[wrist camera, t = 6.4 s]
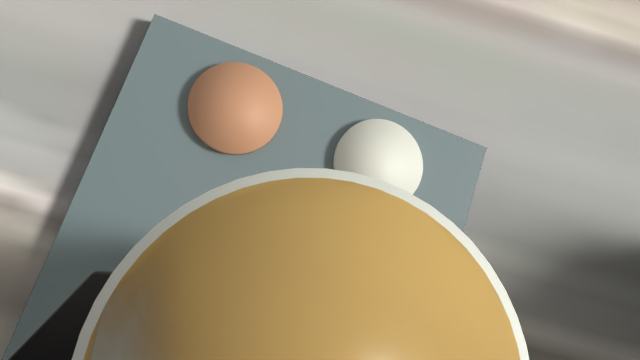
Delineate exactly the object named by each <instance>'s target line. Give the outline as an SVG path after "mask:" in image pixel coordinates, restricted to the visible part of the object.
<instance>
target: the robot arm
mask: <svg viewBox="0 0 640 360" xmlns="http://www.w3.org/2000/svg"><path fill="white" fill-rule="evenodd" d="M112 272H113V271H102V270H97V271H94V272H92V273H91V274H90V275H89V276H88V277H87V278H86V279H85V280H84V281H83V282H82V283H81V284H80V285H79V286H78V287H77V288H76V289H75V290H74V291H73V293H72V294H71V295H70V296H69V297H68V298H67V299H66V300H65V301H64V302H63V303H62V304H61V305H60V306H59V307H58V308H57V309H56V310H55V311H54V312H53V313H52V314H51V315H50V316H49V317H48V318H47V319H46V320H45V321H44V323H43V324H42V325H41V326H40V327H39V328H38V329H37V330H36V331H35V332H34V333H33V334H32V335H31V336H30V337H29V338H28V339H27V340H26V341H25V342H24V343H23V344H22V345H21V346H20V347H19V348H18V349H17V350H16V351H15V353H14V354H13V355H12V356H11V357H10V358H9V359H8V360H72V357H73V354H74V350H75V347H76V344H77V341H78V338H79V335H80V332H81V329H82V327H83V325H84V323H85V321H86V319H87V316H88V314H89V312H90V310H91V308H92V306H93V303H94V301H95V300H96V298H97V296H98V295H99V293H100V292H101V290H102V288H103V287H104V285H105V284H106V282H107V280H108V279H109V277H110V276H111V274H112ZM529 360H530V359H529Z"/></svg>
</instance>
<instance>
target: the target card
mask: <svg viewBox="0 0 640 360" xmlns="http://www.w3.org/2000/svg"><path fill="white" fill-rule="evenodd" d="M486 149H487V148H486V147H483V146H481V145H478V144H476V143H473V142H471V141H468V140H466V139H463V138H461V137H458V136H456V135H453V134H451V133H448V132H446V131H444V130H441V129H439V128H436V127H434V126H431V125H429V124H426V123H424V122H421V121H419V120H416V119H414V118H411V117H409V116H406V115H404V114H401V113H399V112H396V111H394V110H391V109H389V108H386V107H384V106H381V105H379V104H377V103H374V102H372V101H369V100H367V99H364V98H362V97H359V96H357V95H354V94H352V93H349V92H347V91H344V90H342V89H339V88H337V87H334V86H332V85H329V84H327V83H324V82H322V81H319V80H317V79H314V78H312V77H310V76H307V75H305V74H302V73H300V72H297V71H295V70H292V69H290V68H287V67H285V66H282V65H280V64H277V63H275V62H272V61H270V60H267V59H265V58H262V57H260V56H257V55H255V54H252V53H250V52H247V51H245V50H242V49H240V48H238V47H235V46H233V45H230V44H228V43H225V42H223V41H220V40H218V39H215V38H213V37H210V36H208V35H205V34H203V33H200V32H198V31H195V30H193V29H190V28H188V27H185V26H183V25H180V24H178V23H175V22H173V21H171V20H168V19H166V18H163V17H161V16H158V15H156V14H155V15H154V17H153V19H152V21H151V24H150V26H149V28H148V30H147V33H146V35H145V37H144V39H143V42H142V44H141V46H140V48H139V51H138V53H137V55H136V58H135V60H134V62H133V64H132V67H131V69H130V71H129V73H128V76H127V78H126V80H125V82H124V85H123V87H122V89H121V91H120V94H119V96H118V98H117V101H116V103H115V105H114V107H113V110H112V112H111V114H110V116H109V119H108V121H107V123H106V125H105V128H104V130H103V132H102V134H101V137H100V139H99V141H98V144H97V146H96V148H95V150H94V153H93V155H92V157H91V159H90V162H89V164H88V166H87V168H86V171H85V173H84V175H83V178H82V180H81V182H80V184H79V187H78V189H77V191H76V193H75V196H74V198H73V200H72V202H71V205H70V207H69V209H68V211H67V214H66V216H65V218H64V221H63V223H62V225H61V227H60V230H59V232H58V234H57V236H56V239H55V241H54V243H53V245H52V248H51V250H50V252H49V254H48V257H47V259H46V261H45V264H44V266H43V268H42V270H41V273H40V275H39V277H38V279H37V282H36V284H35V286H34V288H33V291H32V293H31V295H30V297H29V300H28V302H27V304H26V307H25V309H24V311H23V313H22V316H21V318H20V320H19V322H18V325H17V327H16V329H15V331H14V334H13V336H12V338H11V340H10V343H9V345H8V347H7V350H6V352H5V354H4V356H3V359H2V360H8V359H9V358H10V357H11V356H12V355H13V354H14V353H15V351H16V350H17V349H18V348H19V347H20V346H21V345H22V344H23V343H24V342H25V341H26V340H27V339H28V338H29V337H30V336H31V335H32V334H33V333H34V332H35V331H36V330H37V329H38V328H39V327H40V326H41V325H42V324H43V323H44V321H45V320H46V319H47V318H48V317H49V316H50V315H51V314H52V313H53V312H54V311H55V310H56V309H57V308H58V307H59V306H60V305H61V304H62V303H63V302H64V301H65V300H66V299H67V298H68V297H69V296H70V295H71V294H72V293H73V291H74V290H75V289H76V288H77V287H78V286H79V285H80V284H81V283H82V282H83V281H84V280H85V279H86V278H87V277H88V276H89V275H90V274H91V273H92V272H94V271H97V270H102V271H114V270H115V269H116V267H117V266H118V265H119V264H120V262H121V261H122V260H123V259H124V258H125V256H126V255H127V254H128V253H129V251H130V250H131V249H132V248H133V247H134V246H135V245H136V244H137V243H138V242H139V241H140V240H141V239H142V238H143V237H144V236H145V235H146V234H147V233H148V232H149V231H150V230H151V229H152V228H154V227H155V226H156V225H157V224H158V223H159V222H161V221H162V220H163V219H165V218H166V217H167V216H169V215H170V214H171V213H173V212H174V211H176V210H177V209H178V208H180V207H181V206H182V205H184V204H186V203H188V202H189V201H191V200H193V199H195V198H197V197H198V196H200V195H202V194H204V193H206V192H207V191H209V190H211V189H214V188H216V187H219V186H222V185H224V184H227V183H229V182H232V181H234V180H237V179H240V178H244V177H247V176H251V175H255V174H259V173H263V172H267V171H275V170H284V169H292V168H326V169H333V170H340V171H347V172H354V173H357V174H361V175H364V176H368V177H372V178H375V179H379V180H382V181H384V182H386V183H389V184H391V185H393V186H396V187H398V188H400V189H403V190H405V191H407V192H409V193H411V194H412V195H414V196H416V197H417V198H419V199H421V200H423V201H424V202H426V203H428V204H429V205H431V206H432V207H434V208H435V209H436V210H437V211H439V212H440V213H441V214H443V215H444V216H445V217H446V218H448V219H449V220H450V221H452V222H453V223H454V224H455V225H456V226H457V227H458V228H459V229H460V230H461V231H462V232H463V228H464V225H465V221H466V218H467V214H468V211H469V207H470V204H471V201H472V197H473V194H474V190H475V187H476V183H477V180H478V176H479V173H480V169H481V166H482V162H483V159H484V155H485V152H486Z"/></svg>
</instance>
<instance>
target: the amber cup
mask: <svg viewBox="0 0 640 360" xmlns="http://www.w3.org/2000/svg"><path fill="white" fill-rule="evenodd" d="M72 360H529V356H528V350H527V345H526V342H525V338H524V335H523V332H522V329H521V326H520V323H519V320H518V316H517V314H516V312H515V310H514V307H513V305H512V303H511V301H510V299H509V296H508V294H507V292H506V290H505V288H504V286H503V285H502V283H501V281H500V280H499V278H498V276H497V275H496V273H495V271H494V270H493V268H492V266H491V265H490V264H489V262H488V261H487V260H486V258H485V257H484V256H483V255H482V253H481V252H480V251H479V249H478V248H477V247H476V246H475V244H474V243H473V242H472V241H471V240H470V239H469V238H468V237H467V236H466V235H465V234H464V233H463V232H462V231H461V230H460V229H459V228H458V227H457V226H456V225H455V224H454V223H453V222H452V221H450V220H449V219H448V218H446V217H445V216H444V215H443V214H441V213H440V212H439V211H437V210H436V209H435V208H434V207H432V206H431V205H429V204H428V203H426V202H424V201H423V200H421V199H419V198H417V197H416V196H414V195H412V194H411V193H409V192H407V191H405V190H403V189H400V188H398V187H396V186H393V185H391V184H389V183H386V182H384V181H382V180H379V179H375V178H372V177H368V176H364V175H361V174H357V173H354V172H347V171H340V170H333V169H326V168H292V169H284V170H275V171H267V172H263V173H259V174H255V175H251V176H247V177H244V178H240V179H237V180H234V181H232V182H229V183H227V184H224V185H222V186H219V187H216V188H214V189H211V190H209V191H207V192H206V193H204V194H202V195H200V196H198V197H197V198H195V199H193V200H191V201H189V202H188V203H186V204H184V205H182V206H181V207H180V208H178V209H177V210H176V211H174V212H173V213H171V214H170V215H169V216H167V217H166V218H165V219H163V220H162V221H161V222H159V223H158V224H157V225H156V226H155V227H154V228H152V229H151V230H150V231H149V232H148V233H147V234H146V235H145V236H144V237H143V238H142V239H141V240H140V241H139V242H138V243H137V244H136V245H135V246H134V247H133V248H132V249H131V250H130V251H129V253H128V254H127V255H126V256H125V258H124V259H123V260H122V261H121V262H120V264H119V265H118V266H117V267H116V269H115V270H114V271H113V272H112V274H111V276H110V277H109V279H108V280H107V282H106V284H105V285H104V287H103V288H102V290H101V292H100V293H99V295H98V296H97V298H96V300H95V301H94V303H93V306H92V308H91V310H90V312H89V314H88V316H87V319H86V321H85V323H84V325H83V327H82V329H81V332H80V335H79V338H78V341H77V344H76V347H75V350H74V354H73V357H72Z"/></svg>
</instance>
